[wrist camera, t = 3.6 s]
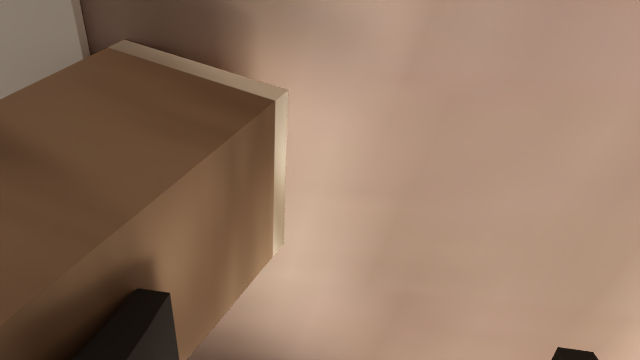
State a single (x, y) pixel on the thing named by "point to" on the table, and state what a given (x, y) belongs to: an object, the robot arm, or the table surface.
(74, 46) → the mat
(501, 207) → the table surface
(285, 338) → the table surface
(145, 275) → the walnut block
